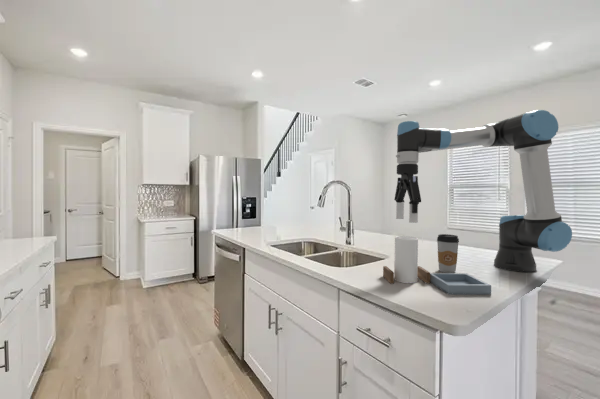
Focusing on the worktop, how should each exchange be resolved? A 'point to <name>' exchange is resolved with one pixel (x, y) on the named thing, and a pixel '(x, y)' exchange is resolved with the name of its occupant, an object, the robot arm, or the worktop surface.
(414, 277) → the cup
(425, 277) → the clip rails
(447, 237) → the coffee cup
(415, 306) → the worktop surface
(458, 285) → the tray
